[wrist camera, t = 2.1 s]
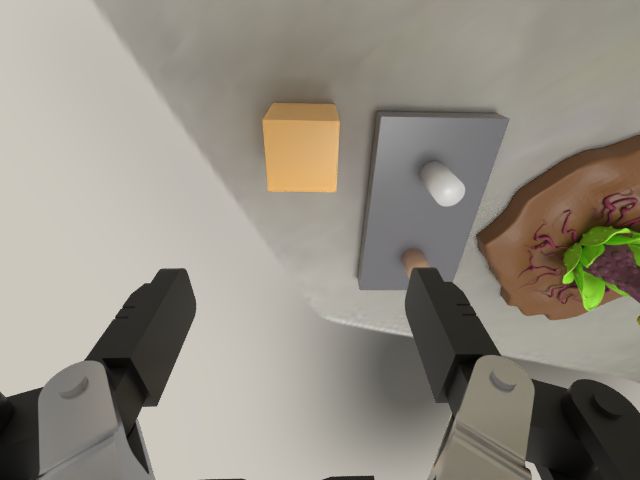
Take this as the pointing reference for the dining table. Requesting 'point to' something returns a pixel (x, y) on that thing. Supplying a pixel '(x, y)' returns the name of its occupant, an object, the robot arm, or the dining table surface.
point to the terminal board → (424, 192)
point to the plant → (571, 235)
